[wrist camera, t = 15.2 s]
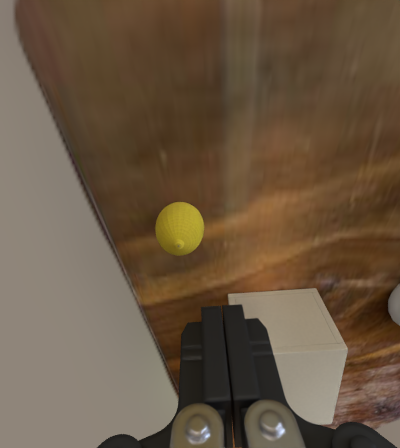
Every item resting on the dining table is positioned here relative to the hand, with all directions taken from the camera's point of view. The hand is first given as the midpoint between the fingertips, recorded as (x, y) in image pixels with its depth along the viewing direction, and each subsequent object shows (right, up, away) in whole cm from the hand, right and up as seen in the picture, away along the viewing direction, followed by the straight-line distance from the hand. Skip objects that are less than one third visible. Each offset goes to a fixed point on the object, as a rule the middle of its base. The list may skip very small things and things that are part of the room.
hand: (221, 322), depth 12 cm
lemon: (-3, +5, +28) cm, 29 cm away
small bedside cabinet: (+10, -13, +37) cm, 41 cm away
